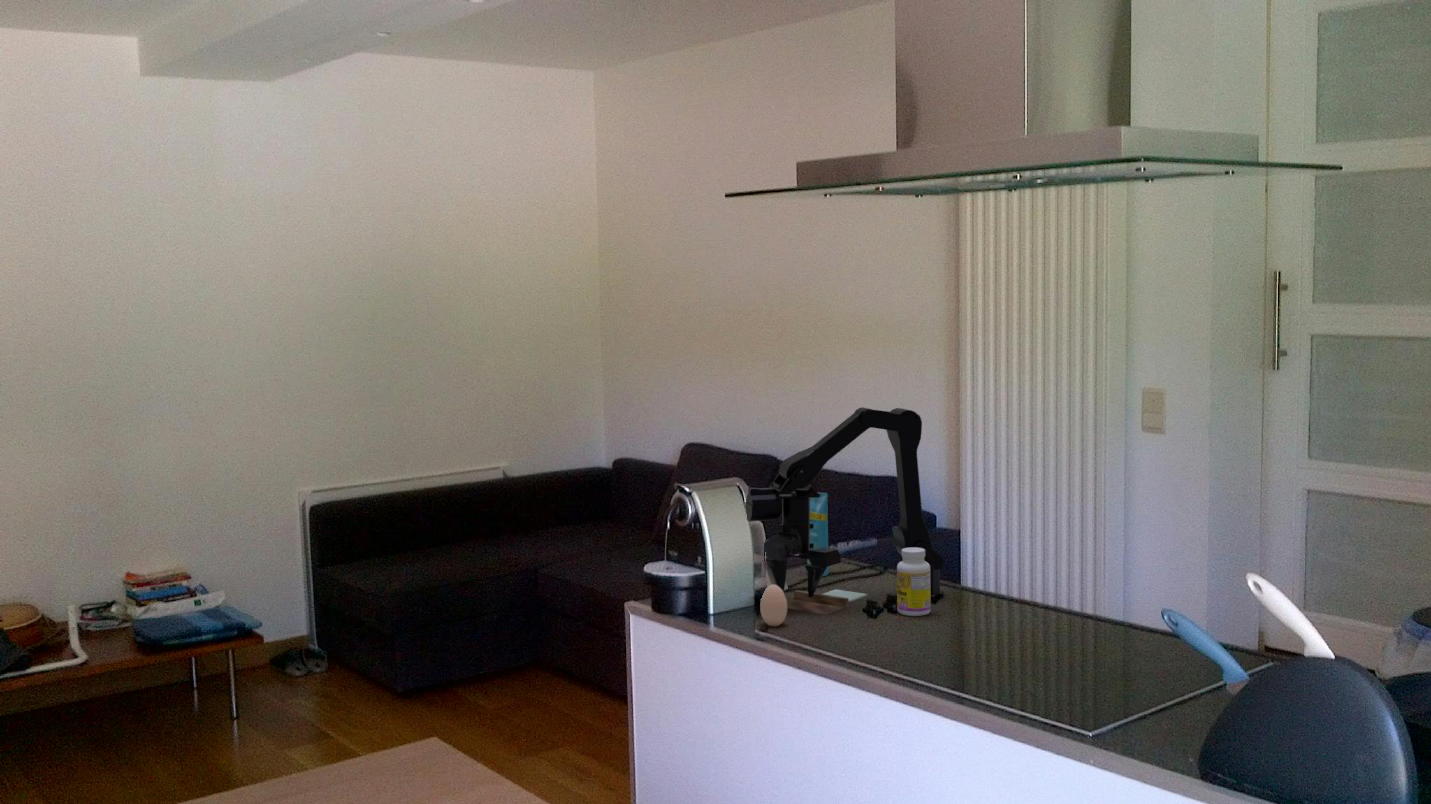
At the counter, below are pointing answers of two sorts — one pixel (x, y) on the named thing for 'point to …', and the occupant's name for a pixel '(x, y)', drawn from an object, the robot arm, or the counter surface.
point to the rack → (816, 603)
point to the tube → (819, 524)
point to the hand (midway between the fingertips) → (795, 594)
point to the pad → (846, 594)
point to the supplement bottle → (913, 583)
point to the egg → (773, 605)
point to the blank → (772, 579)
